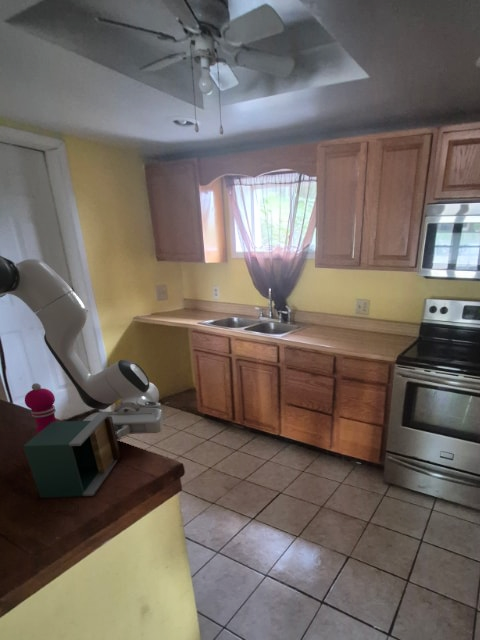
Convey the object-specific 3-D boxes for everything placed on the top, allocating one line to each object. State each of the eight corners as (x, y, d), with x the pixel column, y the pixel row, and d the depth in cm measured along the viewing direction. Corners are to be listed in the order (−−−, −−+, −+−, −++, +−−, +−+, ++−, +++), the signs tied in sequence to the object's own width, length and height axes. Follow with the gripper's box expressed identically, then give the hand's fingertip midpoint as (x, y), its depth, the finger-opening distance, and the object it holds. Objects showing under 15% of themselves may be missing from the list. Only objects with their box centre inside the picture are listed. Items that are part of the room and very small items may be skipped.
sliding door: (98, 473, 87) (88, 430, 83) (110, 457, 94) (101, 416, 89) (109, 472, 87) (99, 430, 83) (120, 456, 94) (111, 416, 89)
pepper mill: (68, 445, 100) (48, 376, 92) (76, 455, 96) (56, 383, 88) (36, 455, 96) (13, 383, 88) (43, 466, 91) (20, 391, 83)
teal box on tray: (40, 497, 80) (22, 445, 75) (73, 460, 94) (61, 413, 89) (93, 495, 81) (79, 443, 76) (119, 458, 95) (108, 412, 89)
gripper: (91, 404, 103) (66, 427, 91) (166, 402, 105) (152, 425, 92) (96, 424, 106) (72, 449, 93) (169, 422, 107) (155, 447, 95)
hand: (112, 437), depth 93 cm, fingers closed
